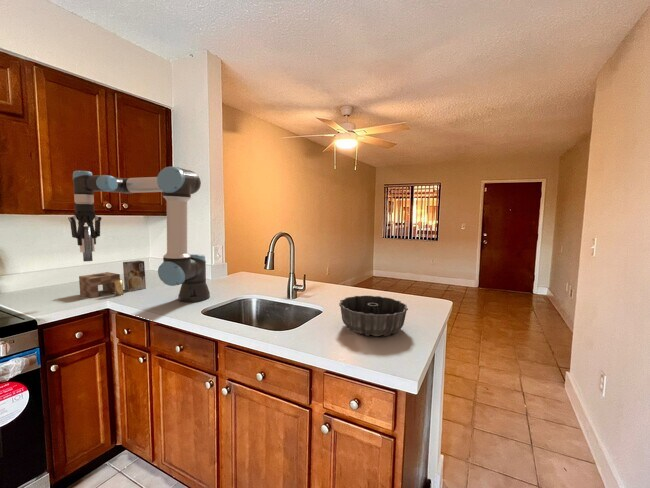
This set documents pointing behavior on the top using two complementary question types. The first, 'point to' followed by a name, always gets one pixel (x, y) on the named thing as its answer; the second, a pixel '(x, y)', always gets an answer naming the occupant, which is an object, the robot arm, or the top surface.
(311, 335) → the top surface
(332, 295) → the top surface
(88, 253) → the tall steel pin
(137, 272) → the coffee box
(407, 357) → the top surface
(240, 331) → the top surface
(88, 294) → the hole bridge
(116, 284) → the short brass pin
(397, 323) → the bundt pan
